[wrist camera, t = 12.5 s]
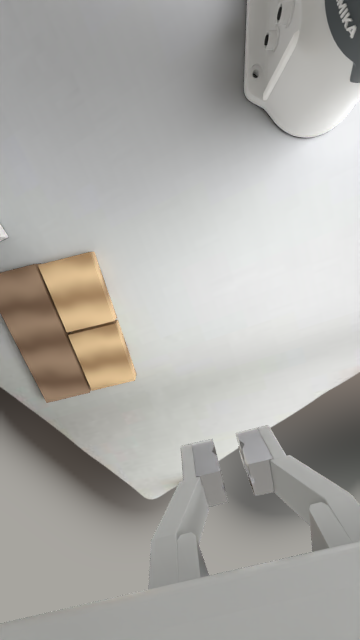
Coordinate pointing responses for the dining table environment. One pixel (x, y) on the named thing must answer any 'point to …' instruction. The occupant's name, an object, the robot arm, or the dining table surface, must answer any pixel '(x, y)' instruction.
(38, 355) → the base board
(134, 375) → the plank
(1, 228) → the milk carton
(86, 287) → the plank
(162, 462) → the dining table surface
